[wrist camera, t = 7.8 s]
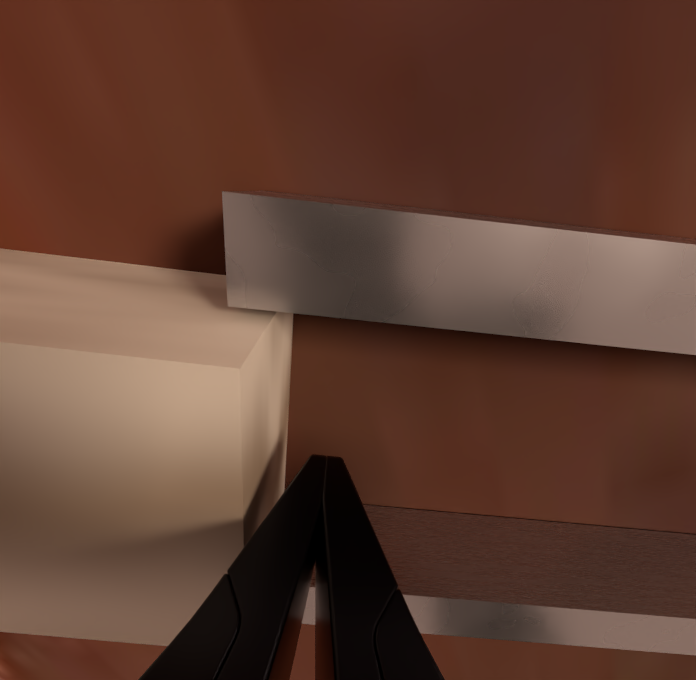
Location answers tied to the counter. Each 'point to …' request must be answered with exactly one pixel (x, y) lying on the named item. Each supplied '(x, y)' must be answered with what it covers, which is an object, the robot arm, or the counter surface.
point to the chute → (503, 319)
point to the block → (130, 442)
